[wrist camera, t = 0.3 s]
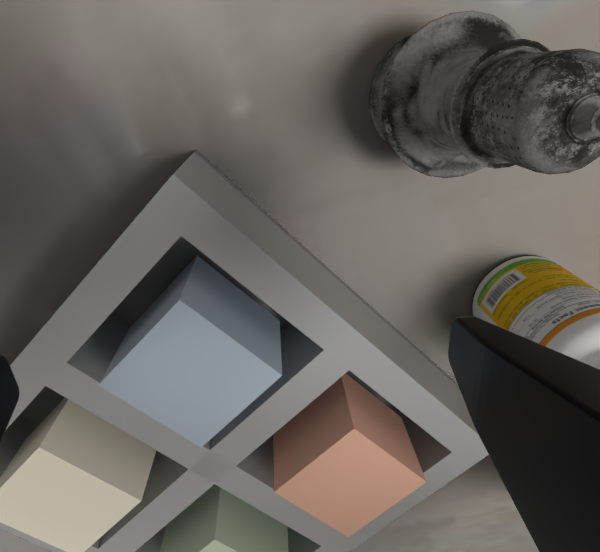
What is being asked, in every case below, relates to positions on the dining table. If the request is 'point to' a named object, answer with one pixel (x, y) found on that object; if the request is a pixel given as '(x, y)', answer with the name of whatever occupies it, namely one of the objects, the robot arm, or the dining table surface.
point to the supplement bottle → (543, 306)
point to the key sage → (223, 527)
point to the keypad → (272, 402)
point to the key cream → (73, 479)
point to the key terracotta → (345, 458)
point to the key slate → (197, 355)
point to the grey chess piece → (486, 100)
